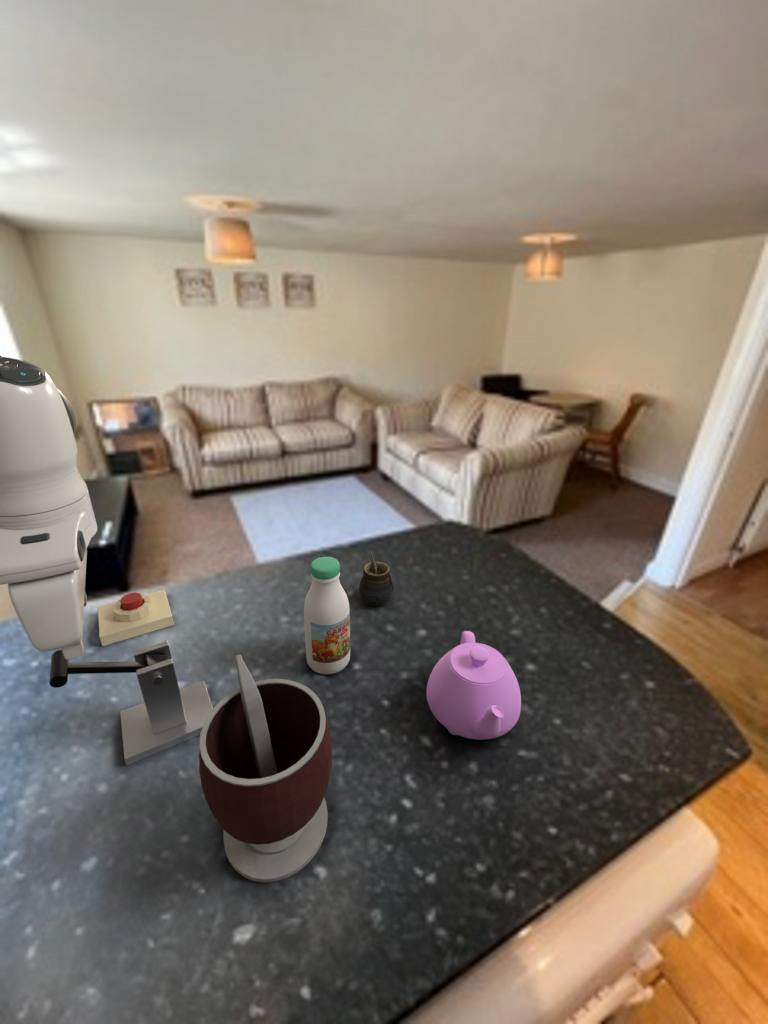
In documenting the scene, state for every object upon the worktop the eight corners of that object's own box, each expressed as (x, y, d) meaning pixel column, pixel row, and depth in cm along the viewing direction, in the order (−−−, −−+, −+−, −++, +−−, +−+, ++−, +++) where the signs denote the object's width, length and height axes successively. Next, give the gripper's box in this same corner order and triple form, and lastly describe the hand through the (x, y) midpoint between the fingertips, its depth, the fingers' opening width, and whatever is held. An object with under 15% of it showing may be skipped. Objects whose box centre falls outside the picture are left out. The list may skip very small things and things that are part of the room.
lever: (46, 690, 53) (51, 673, 53) (49, 663, 57) (53, 647, 56) (166, 685, 61) (171, 671, 61) (161, 662, 65) (165, 648, 65)
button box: (102, 646, 81) (96, 629, 79) (100, 615, 88) (95, 599, 86) (174, 625, 86) (170, 608, 85) (166, 597, 94) (162, 581, 92)
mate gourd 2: (368, 614, 91) (369, 573, 86) (352, 595, 96) (351, 555, 92) (399, 604, 94) (401, 563, 90) (381, 585, 100) (382, 547, 96)
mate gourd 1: (354, 842, 53) (354, 724, 44) (236, 922, 46) (208, 800, 37) (301, 742, 64) (293, 633, 56) (201, 793, 57) (173, 678, 49)
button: (122, 613, 83) (120, 605, 83) (121, 603, 86) (119, 595, 85) (144, 607, 85) (142, 600, 84) (142, 597, 88) (140, 590, 87)
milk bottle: (298, 667, 77) (290, 569, 69) (320, 639, 84) (316, 546, 75) (337, 681, 75) (335, 581, 66) (357, 651, 81) (357, 556, 73)
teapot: (539, 779, 60) (556, 715, 55) (434, 780, 60) (442, 716, 54) (499, 668, 78) (510, 612, 73) (419, 668, 78) (423, 612, 73)
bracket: (126, 765, 60) (103, 697, 55) (121, 717, 67) (101, 652, 62) (218, 727, 66) (205, 661, 61) (205, 686, 73) (192, 623, 68)
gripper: (21, 491, 53) (52, 587, 59) (-14, 580, 37) (34, 700, 43) (83, 483, 56) (107, 576, 62) (76, 563, 40) (109, 677, 46)
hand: (77, 627), depth 52 cm, fingers open, 8 cm apart
